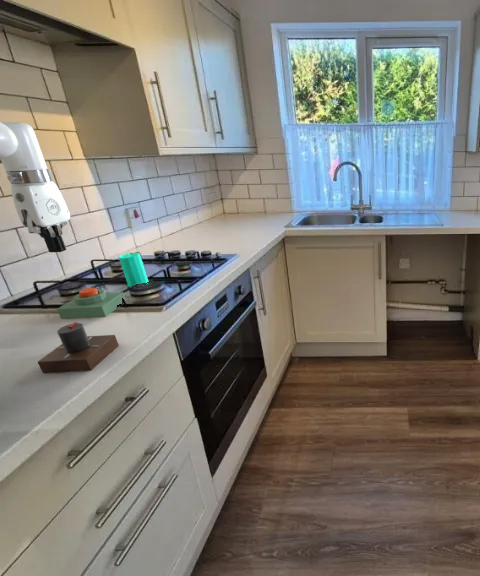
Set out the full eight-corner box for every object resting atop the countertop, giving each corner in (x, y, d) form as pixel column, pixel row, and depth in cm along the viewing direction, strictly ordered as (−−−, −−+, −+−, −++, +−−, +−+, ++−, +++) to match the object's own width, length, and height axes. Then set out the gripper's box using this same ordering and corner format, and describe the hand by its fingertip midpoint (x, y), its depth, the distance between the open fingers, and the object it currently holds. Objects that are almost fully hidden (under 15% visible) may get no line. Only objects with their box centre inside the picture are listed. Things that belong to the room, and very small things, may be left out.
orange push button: (77, 298, 102) (75, 293, 101) (87, 293, 105) (85, 287, 105) (92, 298, 102) (90, 292, 101) (101, 292, 106) (99, 286, 105)
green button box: (61, 319, 101) (54, 303, 99) (85, 303, 110) (80, 288, 108) (105, 316, 101) (99, 300, 99) (126, 301, 110) (121, 286, 108)
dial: (82, 352, 79) (73, 331, 77) (60, 353, 79) (51, 332, 77) (94, 341, 83) (86, 321, 81) (74, 342, 83) (65, 322, 81)
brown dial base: (42, 373, 78) (36, 361, 76) (76, 347, 87) (71, 336, 85) (91, 370, 78) (85, 358, 77) (119, 345, 87) (114, 334, 86)
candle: (152, 282, 124) (141, 249, 119) (133, 288, 119) (121, 254, 114) (143, 279, 127) (133, 246, 122) (125, 285, 122) (113, 251, 117)
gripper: (20, 181, 80) (50, 259, 87) (69, 175, 94) (92, 243, 101) (-16, 182, 80) (18, 260, 87) (39, 175, 94) (64, 244, 101)
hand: (58, 251), depth 94 cm, fingers closed
